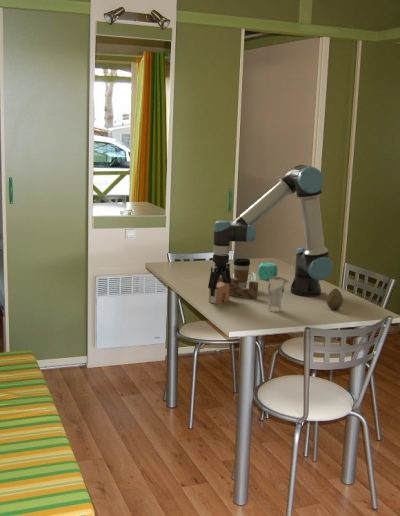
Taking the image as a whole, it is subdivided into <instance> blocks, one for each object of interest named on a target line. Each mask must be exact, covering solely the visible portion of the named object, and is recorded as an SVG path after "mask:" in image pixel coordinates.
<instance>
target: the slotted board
mask: <svg viewBox="0 0 400 516" xmlns="http://www.w3.org/2000/svg"><path fill="white" fill-rule="evenodd" d="M228 280H229V279H228ZM218 282H223V280H222V276H220V277H219V280H218ZM258 292H259V282H258V281H255V280H254V281H253V280H251V281H248V287H246V288H242V287H239V279H237V278H234V277H231V283H230V285H229V296H235V297H240V298H241V297H242V298H247V299H250V300H251V299H252V300H257V299H258V297H259V296H258V294H259V293H258Z"/></svg>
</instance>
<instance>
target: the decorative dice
mask: <svg viewBox="0 0 400 516" xmlns="http://www.w3.org/2000/svg"><path fill="white" fill-rule="evenodd" d="M278 271H279V269H278V267H277V265H276V264H275V263H273V262H261V263H260V264H259V266H258V269H257V276H258V277H259V279H260V280H264V281H269V279H270V277H278Z"/></svg>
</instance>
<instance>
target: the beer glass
mask: <svg viewBox="0 0 400 516" xmlns="http://www.w3.org/2000/svg"><path fill="white" fill-rule="evenodd" d="M284 291H285V277H282V276H276V277H270V279H269V280H268V299H269V304H268V308H267V310H268V312H271V311H272V312H271V313H281V312H282V299H283V297H284ZM280 311H281V312H280Z"/></svg>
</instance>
